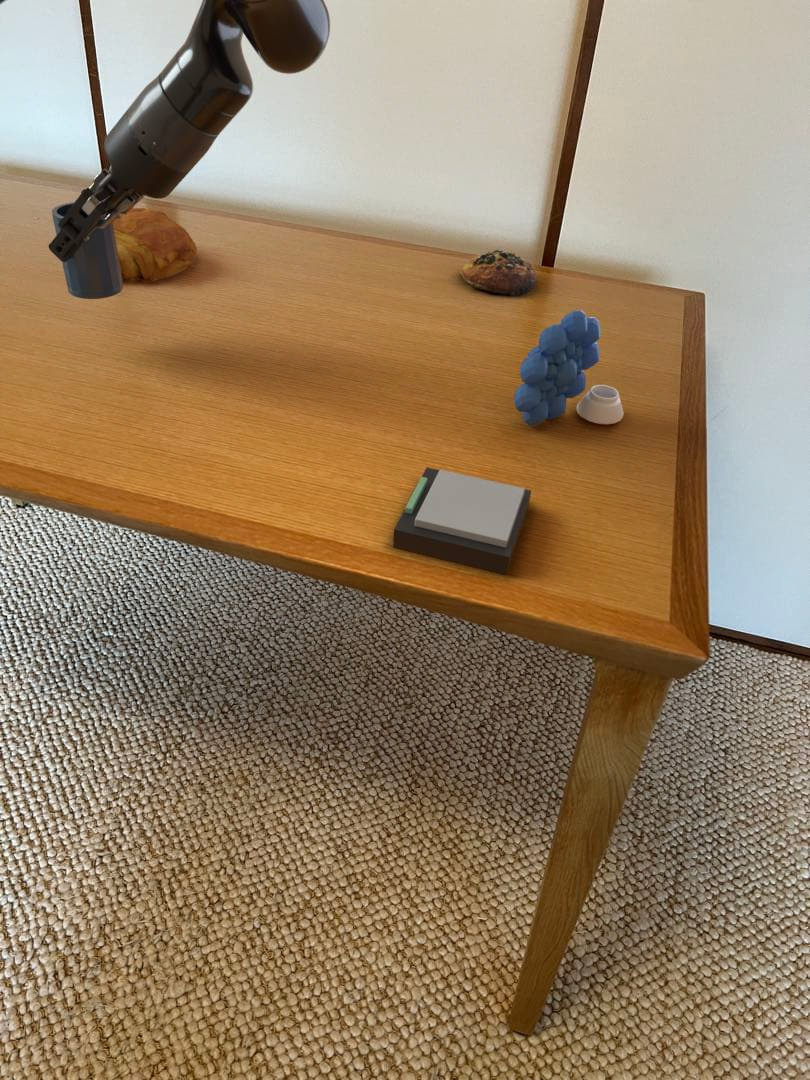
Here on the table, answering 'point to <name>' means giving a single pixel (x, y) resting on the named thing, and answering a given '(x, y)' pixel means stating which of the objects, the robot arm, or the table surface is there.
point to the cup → (92, 262)
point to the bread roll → (500, 273)
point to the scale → (463, 520)
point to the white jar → (601, 405)
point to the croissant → (151, 245)
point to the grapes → (557, 367)
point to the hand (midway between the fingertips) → (72, 243)
